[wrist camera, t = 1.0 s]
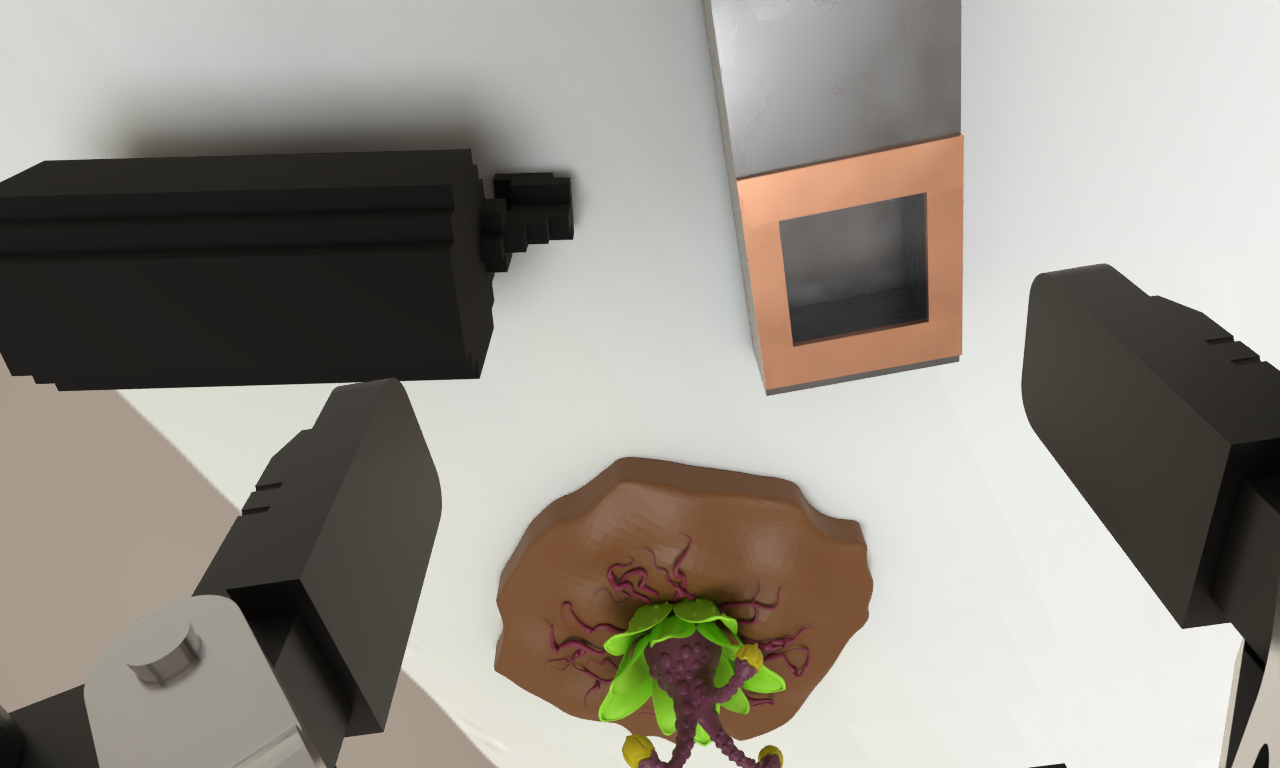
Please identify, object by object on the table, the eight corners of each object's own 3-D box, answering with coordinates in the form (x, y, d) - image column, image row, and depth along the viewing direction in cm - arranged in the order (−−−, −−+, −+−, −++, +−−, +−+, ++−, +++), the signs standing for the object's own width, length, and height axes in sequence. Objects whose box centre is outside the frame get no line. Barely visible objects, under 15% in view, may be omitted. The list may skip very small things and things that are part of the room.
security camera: (578, 276, 36) (565, 399, 27) (153, 288, 36) (8, 416, 27) (567, 114, 32) (548, 198, 24) (95, 126, 32) (-95, 216, 24)
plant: (575, 405, 40) (562, 571, 30) (916, 519, 44) (999, 696, 35) (458, 664, 49) (420, 852, 40) (749, 737, 54) (777, 922, 44)
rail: (656, -311, 26) (662, -342, 22) (916, -376, 25) (967, -421, 21) (753, 349, 38) (767, 399, 34) (927, 317, 37) (961, 365, 34)
